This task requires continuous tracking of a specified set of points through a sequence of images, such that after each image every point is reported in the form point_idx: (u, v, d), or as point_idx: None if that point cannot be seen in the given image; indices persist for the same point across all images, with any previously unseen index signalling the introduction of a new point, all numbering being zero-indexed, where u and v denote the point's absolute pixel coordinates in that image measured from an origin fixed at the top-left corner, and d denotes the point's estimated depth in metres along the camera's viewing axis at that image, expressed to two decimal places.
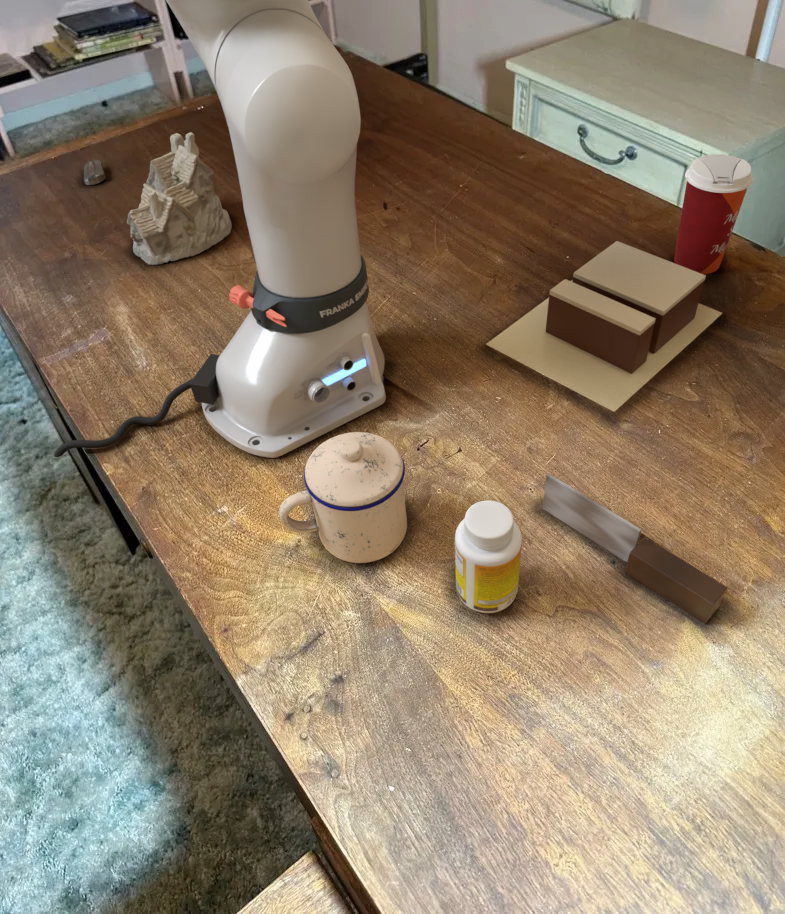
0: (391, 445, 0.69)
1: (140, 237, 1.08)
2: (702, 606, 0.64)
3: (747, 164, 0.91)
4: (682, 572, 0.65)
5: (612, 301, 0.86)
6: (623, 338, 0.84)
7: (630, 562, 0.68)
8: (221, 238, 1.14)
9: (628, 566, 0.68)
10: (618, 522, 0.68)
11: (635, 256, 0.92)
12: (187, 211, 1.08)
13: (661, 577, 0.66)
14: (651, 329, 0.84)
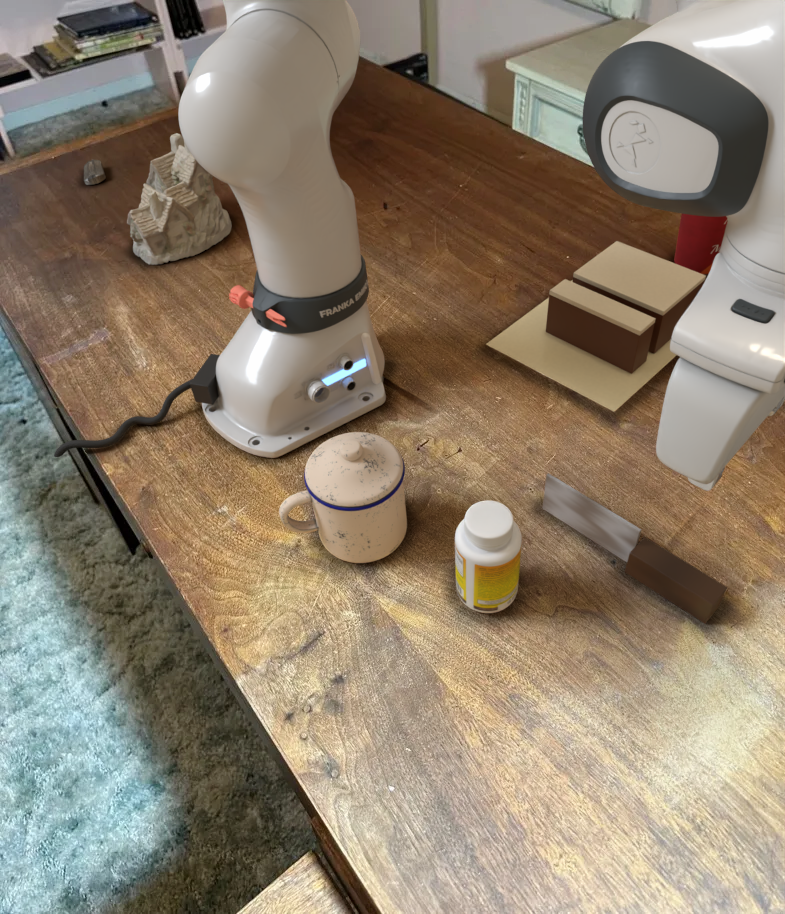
0: (391, 445, 0.69)
1: (140, 237, 1.08)
2: (702, 606, 0.64)
3: None
4: (682, 572, 0.65)
5: (612, 301, 0.86)
6: (623, 338, 0.84)
7: (630, 562, 0.68)
8: (221, 238, 1.14)
9: (628, 566, 0.68)
10: (618, 522, 0.68)
11: (635, 256, 0.92)
12: (187, 211, 1.08)
13: (661, 577, 0.66)
14: (651, 329, 0.84)
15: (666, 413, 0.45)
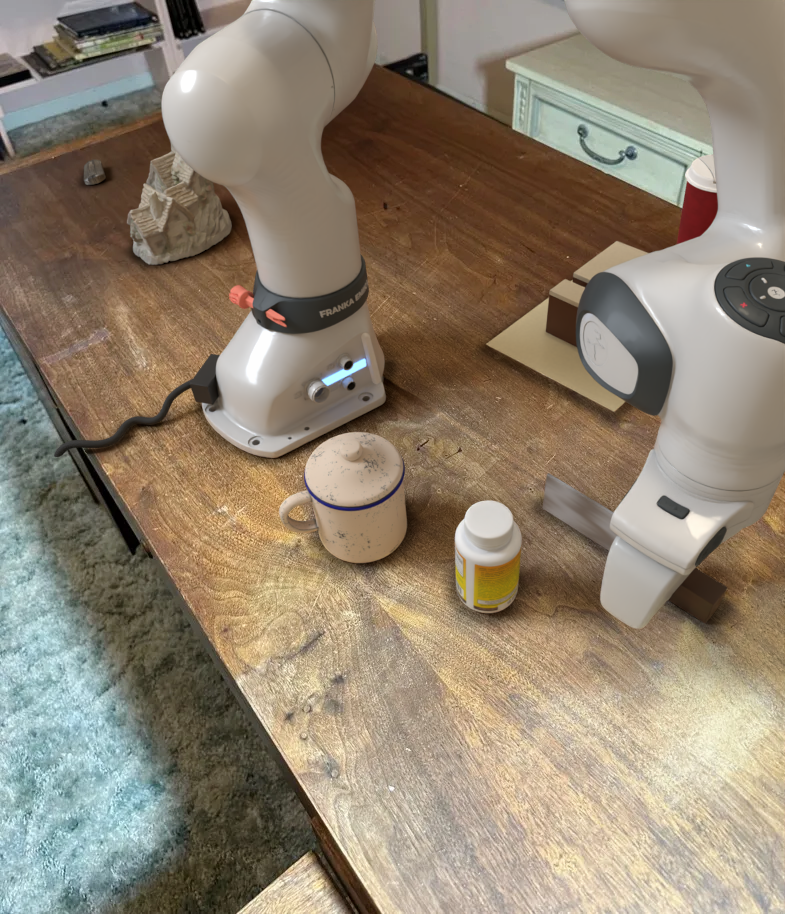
0: (391, 445, 0.69)
1: (140, 237, 1.08)
2: (703, 606, 0.64)
3: None
4: None
5: None
6: None
7: None
8: (221, 238, 1.14)
9: None
10: None
11: (635, 256, 0.92)
12: (187, 211, 1.08)
13: None
14: None
15: (607, 575, 0.57)
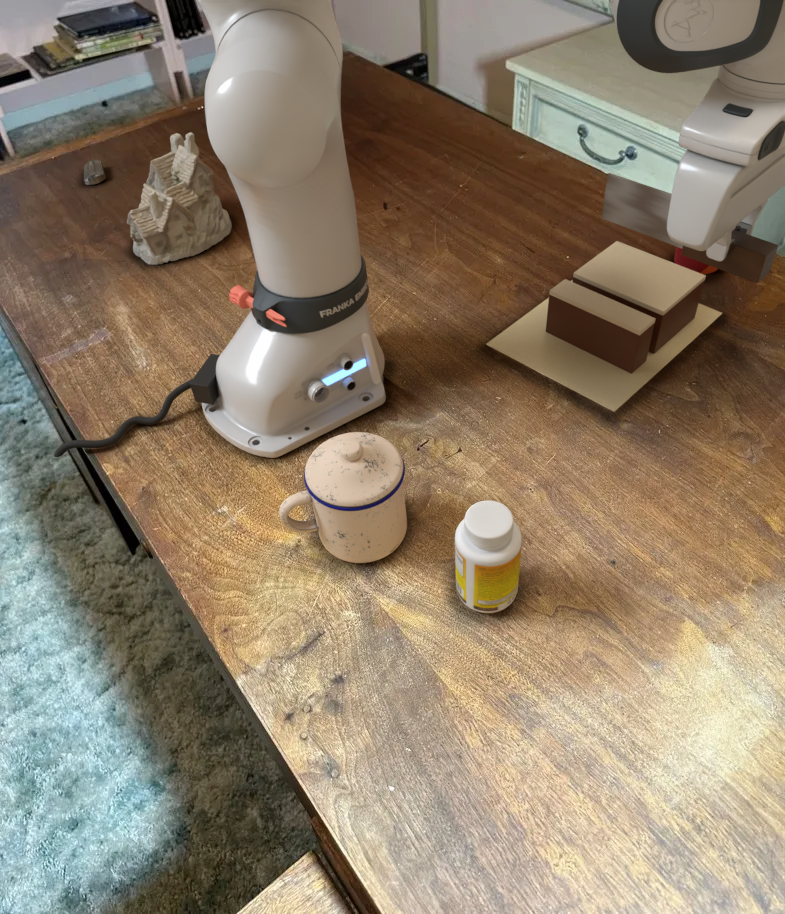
0: (391, 445, 0.69)
1: (140, 237, 1.08)
2: (756, 261, 0.70)
3: None
4: (736, 237, 0.72)
5: (612, 301, 0.86)
6: (623, 338, 0.84)
7: None
8: (221, 238, 1.14)
9: None
10: None
11: (635, 256, 0.92)
12: (187, 211, 1.08)
13: None
14: (651, 329, 0.84)
15: (674, 193, 0.63)
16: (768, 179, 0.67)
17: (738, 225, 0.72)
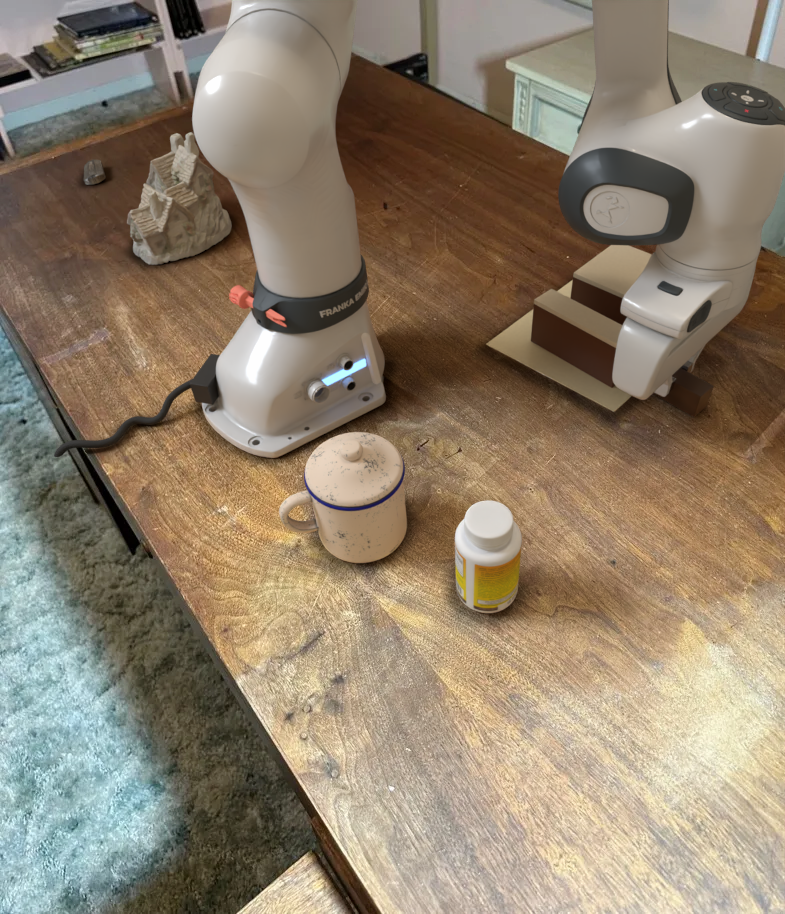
0: (391, 445, 0.69)
1: (140, 237, 1.08)
2: (692, 399, 0.79)
3: None
4: (678, 374, 0.81)
5: (596, 313, 0.84)
6: (604, 352, 0.83)
7: None
8: (221, 238, 1.14)
9: None
10: None
11: (635, 256, 0.92)
12: (187, 211, 1.08)
13: None
14: None
15: (618, 352, 0.72)
16: (704, 332, 0.76)
17: None
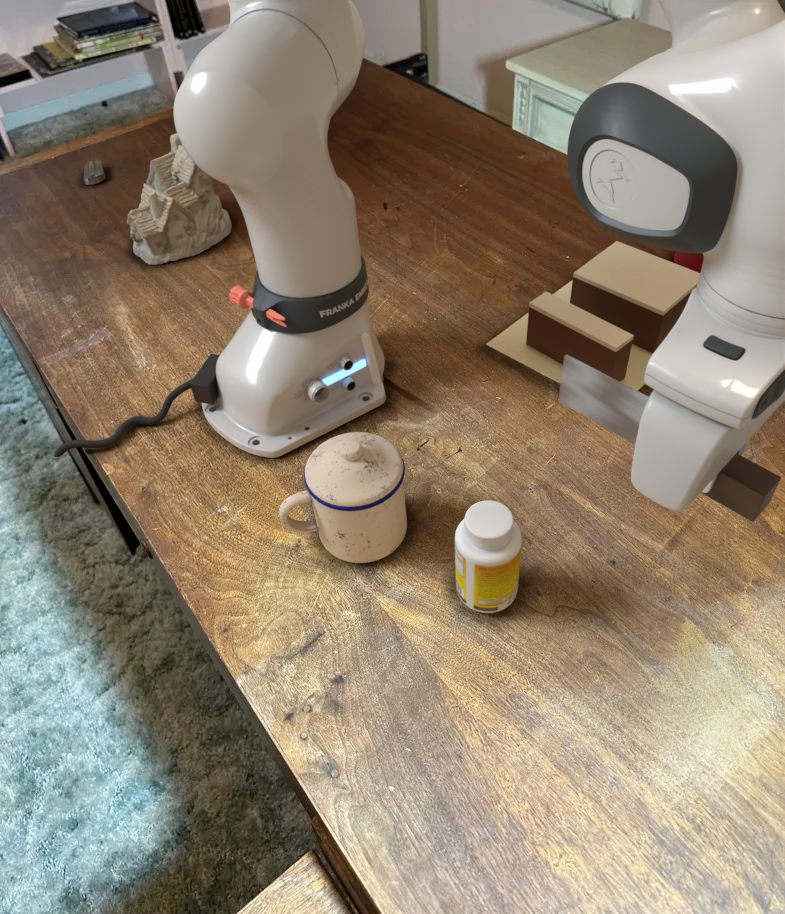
0: (391, 445, 0.69)
1: (140, 237, 1.08)
2: (751, 499, 0.54)
3: None
4: None
5: (591, 316, 0.84)
6: (600, 354, 0.82)
7: None
8: (221, 238, 1.14)
9: None
10: None
11: (635, 256, 0.92)
12: (187, 211, 1.08)
13: None
14: (629, 346, 0.82)
15: (640, 443, 0.46)
16: None
17: None
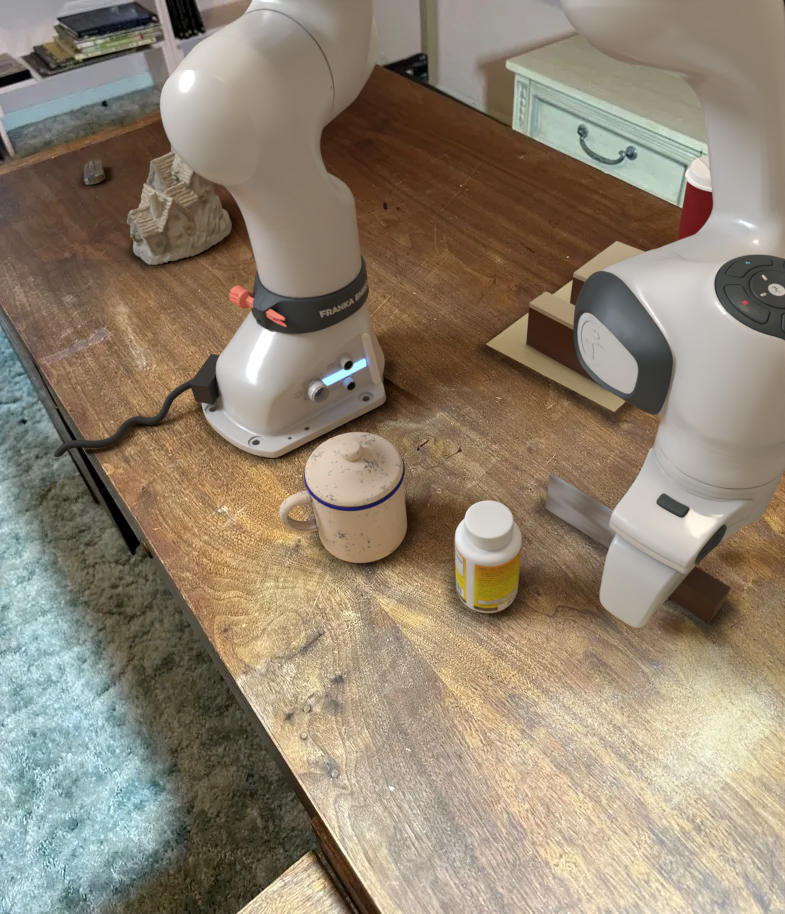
0: (391, 445, 0.69)
1: (140, 237, 1.08)
2: (706, 606, 0.64)
3: None
4: None
5: None
6: None
7: None
8: (221, 238, 1.14)
9: None
10: None
11: None
12: (187, 211, 1.08)
13: None
14: None
15: (606, 573, 0.56)
16: None
17: None
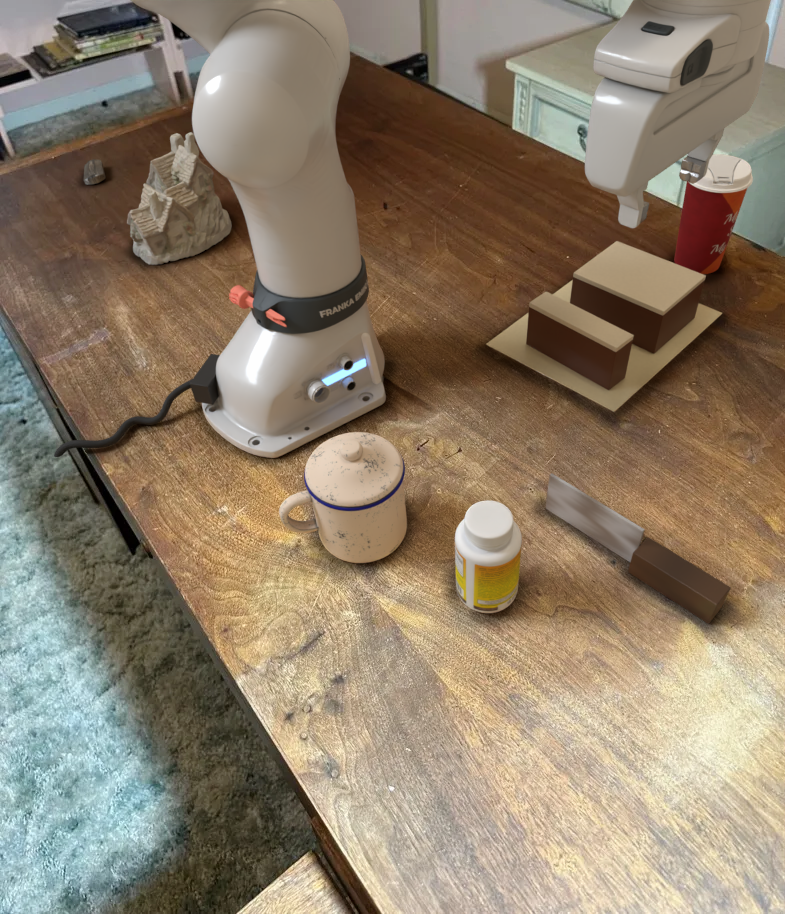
0: (391, 445, 0.69)
1: (140, 237, 1.08)
2: (706, 606, 0.64)
3: (747, 164, 0.91)
4: (685, 572, 0.65)
5: (591, 316, 0.84)
6: (600, 354, 0.82)
7: (633, 562, 0.68)
8: (221, 238, 1.14)
9: (631, 566, 0.68)
10: (621, 521, 0.68)
11: (635, 256, 0.92)
12: (187, 211, 1.08)
13: (664, 577, 0.66)
14: (629, 346, 0.82)
15: (591, 128, 0.55)
16: (702, 117, 0.59)
17: (691, 162, 0.66)
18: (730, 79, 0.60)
